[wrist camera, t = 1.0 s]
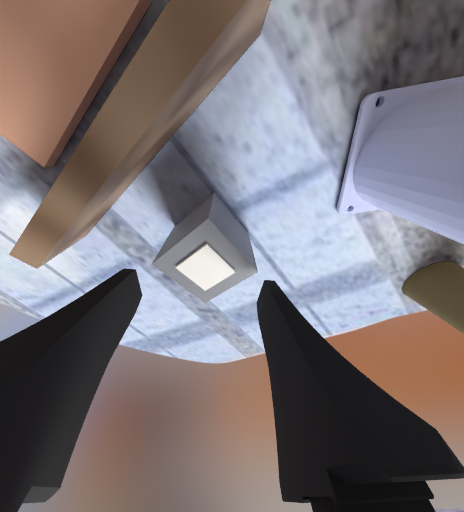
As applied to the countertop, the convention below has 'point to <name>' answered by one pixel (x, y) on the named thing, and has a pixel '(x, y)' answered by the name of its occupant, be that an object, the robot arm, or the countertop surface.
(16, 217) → the countertop surface
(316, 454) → the robot arm
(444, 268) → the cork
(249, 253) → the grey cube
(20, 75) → the terracotta tile
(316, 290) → the countertop surface
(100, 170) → the walnut screen
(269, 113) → the countertop surface
